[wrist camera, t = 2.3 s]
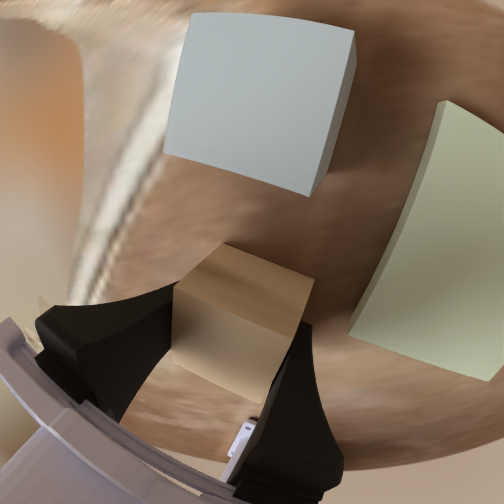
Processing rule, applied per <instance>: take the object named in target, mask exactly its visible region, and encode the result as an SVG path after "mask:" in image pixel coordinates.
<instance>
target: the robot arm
mask: <svg viewBox="0 0 504 504" xmlns="http://www.w3.org/2000/svg"><path fill="white" fill-rule="evenodd" d="M178 282H179V281H177V282H175V283H172V284H170V285H167V286H165V287H162V288H160V289H157V290H154V291H152V292H149V293H146V294H143V295H140V296H137V297H133V298H129V299H125V300H121V301H116V302H110V303H104V304H97V305H85V306H59V305H54V306H53V307H52V308H50V309H49V310H47V311H46V312H45V313H43V314H42V315H41V316H40V317H38V318H37V319H36V320H35V327H36V330H37V333H38V335H39V337H40V340H41V342H42V344H43V347H44V350H43V351H42V352H40V353H39V354H37V353H36V352H35V351H34V349H33V348H32V347H31V346H30V345H29V344H28V343H27V342H26V339H25V337H24V334H23V333H22V331H21V330H20V328H19V327H18V326H17V325H16V323H15V322H14V321H13V320H12V318H10V317H8V318H7V319H5V320H4V321H3V322H2V323H0V377H1V378H2V380H3V381H4V382H5V384H6V385H7V386H8V388H9V389H10V390H11V392H12V393H13V394H14V395H15V397H16V398H17V399H18V400H19V402H20V403H21V404H22V405H23V406H24V407H25V409H26V410H27V411H28V412H29V413H30V414H31V415H32V416H33V418H34V419H35V420H36V421H37V422H38V423H39V424H40V425H41V427H40V429H38V430H37V431H36V432H35V433H34V434H33V435H32V437H31V438H30V439H29V440H28V441H27V442H26V443H25V444H24V445H23V446H22V447H21V448H20V449H19V450H18V451H17V452H16V453H15V455H14V456H13V457H12V458H11V459H10V460H9V461H8V462H7V463H6V464H5V465H4V466H3V468H2V469H1V470H0V504H318V502H319V501H321V500H322V498H323V495H324V492H325V491H327V490H330V489H332V488H334V487H336V486H337V485H339V484H340V482H341V479H342V475H343V467H344V456H343V455H342V453H341V451H340V449H339V447H338V445H337V443H336V441H335V439H334V437H333V434H332V432H331V430H330V427H329V425H328V422H327V419H326V416H325V413H324V411H323V408H322V404H321V401H320V397H319V393H318V388H317V384H316V378H315V372H314V364H313V354H312V328H313V327H312V325H311V324H309V323H306V322H304V321H301V320H300V322H299V325H298V328H297V330H296V333H295V336H294V338H293V340H292V343H291V345H290V347H289V349H288V351H287V353H286V355H285V357H284V359H283V361H282V363H281V365H280V367H279V369H278V371H277V373H276V375H275V377H274V379H273V381H272V384H271V387H270V390H269V393H268V396H267V399H266V402H265V405H264V408H263V410H262V413H261V415H260V417H259V419H258V421H257V422H256V421H254V420H251V419H246V420H245V422H244V424H243V426H242V428H241V430H240V431H239V433H238V435H237V437H236V439H235V441H234V443H233V445H232V446H231V448H230V450H229V452H228V456H230V457H231V459H230V461H229V463H228V465H227V467H226V469H225V470H224V472H223V474H222V476H221V478H220V480H217V479H215V478H213V477H210V476H208V475H206V474H204V473H202V472H200V471H197V470H196V469H194V468H192V467H189V466H188V465H186V464H184V463H182V462H180V461H178V460H176V459H174V458H172V457H171V456H169V455H167V454H165V453H164V452H162V451H160V450H158V449H157V448H155V447H153V446H152V445H150V444H148V443H147V442H145V441H144V440H142V439H140V438H139V437H137V436H136V435H134V434H133V433H131V432H130V431H128V430H127V429H125V428H124V427H122V426H121V425H120V424H119V422H120V420H121V418H122V417H123V415H124V413H125V411H126V410H127V408H128V406H129V405H130V403H131V401H132V400H133V398H134V397H135V395H136V393H137V392H138V390H139V389H140V387H141V386H142V384H143V383H144V381H145V380H146V378H147V377H148V376H149V374H150V373H151V371H152V370H153V369H154V367H155V366H156V364H157V363H158V362H159V361H160V360H161V358H162V357H163V356H164V355H165V354H166V353H167V352H168V351H169V350H170V348H171V332H172V308H173V291H174V286H175V285H176V284H177V283H178ZM84 418H85V419H86V420H87V421H86V420H85V419H84ZM90 423H91V424H92V425H93V426H92V425H91V424H90ZM95 427H96V428H97V429H96V428H95ZM99 430H100V431H101V432H102V433H101V432H100V431H99ZM103 433H104V434H105V435H106V436H105V435H104V434H103ZM107 436H108V437H109V438H110V439H109V438H108V437H107ZM111 439H112V440H113V441H112V440H111ZM115 442H116V443H117V444H116V443H115ZM118 444H119V445H120V446H119V445H118ZM122 447H123V448H122ZM125 449H126V450H127V451H126V450H125ZM128 451H129V452H130V453H129V452H128ZM131 453H132V454H133V455H132V454H131ZM134 455H135V456H136V457H135V456H134ZM137 457H138V458H140V459H141V460H143V461H144V462H146V463H148V464H149V465H151V466H153V467H154V468H156V469H158V470H160V471H162V472H163V473H165V474H167V475H168V476H171V477H172V478H174V479H176V480H178V481H180V482H182V483H184V484H186V485H188V486H190V487H192V488H194V489H196V490H198V491H200V492H202V493H203V494H201V495H200V497H199V496H197V495H195V494H193V493H191V492H190V491H188V490H186V489H184V488H182V487H181V486H179V485H177V484H175V483H174V482H172V481H170V480H169V479H167V478H165V477H164V476H162V475H161V474H159V473H157V472H156V471H154V470H153V469H151V468H150V467H148V466H147V465H146V464H145V463H143V462H142V461H141V460H139V459H138V458H137Z"/></svg>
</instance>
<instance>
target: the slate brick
mask: <svg viewBox="0 0 504 504" xmlns="http://www.w3.org/2000/svg"><path fill="white" fill-rule="evenodd" d="M356 67H357V57H356V43H355V32H354V31H352V30H349V29H345V28H341V27H336V26H332V25H328V24H323V23H318V22H313V21H307V20H301V19H295V18H288V17H280V16H271V15H261V14H246V13H192V15H191V19H190V22H189V26H188V30H187V33H186V37H185V41H184V45H183V49H182V53H181V58H180V62H179V66H178V71H177V76H176V80H175V85H174V90H173V96H172V101H171V107H170V112H169V118H168V124H167V131H166V138H165V145H164V152H163V153H166V154H170V155H173V156H177V157H181V158H185V159H189V160H192V161H196V162H200V163H203V164H207V165H211V166H214V167H218V168H221V169H224V170H228V171H231V172H234V173H238V174H241V175H244V176H248V177H251V178H254V179H257V180H260V181H263V182H266V183H269V184H273V185H276V186H279V187H282V188H284V189H287V190H290V191H293V192H296V193H299V194H302V195H305V196H308V197H309V196H310V195H311V194H312V192H313V191H314V190H315V188H316V187H317V186H318V184H319V183H320V182H321V180H322V179H323V178H324V176H325V175H326V174H327V171H328V167H329V164H330V161H331V157H332V154H333V151H334V147H335V144H336V140H337V137H338V134H339V130H340V127H341V123H342V120H343V116H344V112H345V109H346V105H347V101H348V98H349V94H350V90H351V86H352V82H353V79H354V75H355V71H356Z"/></svg>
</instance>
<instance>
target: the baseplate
mask: <svg viewBox="0 0 504 504" xmlns="http://www.w3.org/2000/svg"><path fill="white" fill-rule="evenodd" d="M348 335H349V336H352V337H355V338H357V339H360V340H363V341H365V342H368V343H371V344H374V345H377V346H379V347H382V348H385V349H388V350H391V351H393V352H396V353H399V354H402V355H405V356H408V357H411V358H414V359H417V360H420V361H423V362H426V363H429V364H432V365H435V366H438V367H441V368H444V369H448V370H451V371H454V372H457V373H460V374H464V375H467V376H470V377H474V378H477V379H480V380H484V381H487V382H488V381H489V380H490V379H491V378H492V377H493V376H494V375H495V374H496V373H497V372H498V371H499V370H500V368H501V367H502V366H503V365H504V134H503V133H502V132H500V131H499V130H497V129H496V128H494V127H493V126H491V125H489V124H488V123H486V122H485V121H483V120H482V119H480V118H478V117H477V116H475V115H473V114H472V113H470V112H468V111H466V110H465V109H463V108H461V107H459V106H457V105H455V104H454V103H452V102H450V101H448V100H445V101H442V102H439V103H438V104H437V108H436V112H435V116H434V119H433V123H432V126H431V130H430V133H429V137H428V140H427V143H426V146H425V150H424V153H423V156H422V159H421V162H420V165H419V168H418V171H417V173H416V176H415V179H414V182H413V184H412V187H411V190H410V192H409V195H408V198H407V200H406V203H405V205H404V208H403V210H402V213H401V215H400V218H399V220H398V222H397V225H396V227H395V229H394V232H393V234H392V236H391V238H390V241H389V243H388V245H387V247H386V249H385V252H384V254H383V256H382V258H381V260H380V262H379V264H378V266H377V268H376V270H375V272H374V274H373V276H372V278H371V280H370V282H369V284H368V286H367V288H366V290H365V292H364V294H363V296H362V298H361V300H360V301H359V303H358V305H357V307H356V309H355V311H354V312H353V314H352V316H351V318H350V323H349V330H348Z"/></svg>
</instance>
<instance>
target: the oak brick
mask: <svg viewBox="0 0 504 504" xmlns="http://www.w3.org/2000/svg"><path fill="white" fill-rule="evenodd" d="M314 281H315V279H313V278H310V277H308V276H305V275H303V274H300V273H297V272H295V271H292V270H290V269H287V268H285V267H282V266H280V265H277V264H274V263H272V262H269V261H267V260H264V259H262V258H259V257H257V256H254V255H252V254H249V253H247V252H244V251H241V250H239V249H236V248H234V247H231V246H229V245H226V244H224V243H222V244H221V245H220V246H219V247H218V248H217V249H215V250H214V251H213V252H212V253H211V254H210V255H209V256H207V257H206V258H205V259H204V260H203V261H202V262H201V263H199V264H198V265H197V266H196V267H195V268H194V269H193V270H192V271H190V272H189V273H188V274H187V275H186V276H185V277H184V278H183V279H181V280H180V281H179V282H178V283H177V284H176V285H175V286H174V291H173V308H172V332H171V361H172V362H174V363H176V364H177V365H179V366H181V367H183V368H185V369H187V370H189V371H191V372H192V373H194V374H196V375H198V376H200V377H202V378H204V379H206V380H208V381H210V382H212V383H214V384H216V385H218V386H221V387H223V388H225V389H227V390H229V391H231V392H234V393H236V394H238V395H240V396H242V397H245V398H247V399H249V400H252V401H254V402H256V403H259V404H261V402H262V400H263V398H264V396H265V394H266V393H267V391H268V389H269V387H270V385H271V383H272V381H273V379H274V377H275V375H276V373H277V371H278V369H279V367H280V365H281V363H282V361H283V359H284V357H285V355H286V353H287V351H288V349H289V347H290V345H291V343H292V340H293V338H294V336H295V333H296V330H297V328H298V325H299V322H300V320H301V317H302V314H303V312H304V309H305V306H306V303H307V301H308V298H309V295H310V292H311V289H312V286H313V284H314Z"/></svg>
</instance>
